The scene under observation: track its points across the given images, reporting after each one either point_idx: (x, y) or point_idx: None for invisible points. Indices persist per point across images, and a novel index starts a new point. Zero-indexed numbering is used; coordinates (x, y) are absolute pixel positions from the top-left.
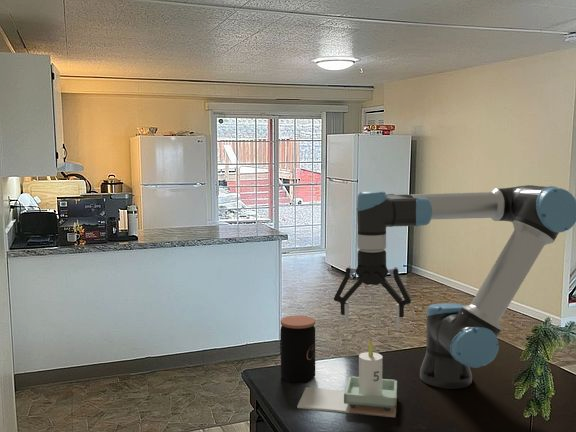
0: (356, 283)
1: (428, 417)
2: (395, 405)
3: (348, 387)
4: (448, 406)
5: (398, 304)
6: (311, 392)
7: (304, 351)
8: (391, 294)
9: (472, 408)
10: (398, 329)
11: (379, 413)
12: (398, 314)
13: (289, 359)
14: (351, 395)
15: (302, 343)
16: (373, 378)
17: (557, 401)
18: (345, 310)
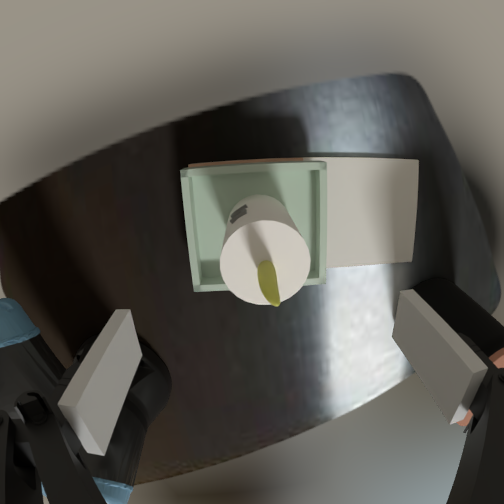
0: None
1: (119, 189)
2: (184, 168)
3: (320, 208)
4: (91, 255)
5: (85, 442)
6: (399, 236)
7: (452, 321)
8: (81, 496)
9: (53, 258)
10: (116, 311)
11: (227, 163)
12: (83, 365)
13: (470, 299)
14: (305, 162)
15: (468, 329)
16: (247, 207)
17: None
18: (460, 343)
